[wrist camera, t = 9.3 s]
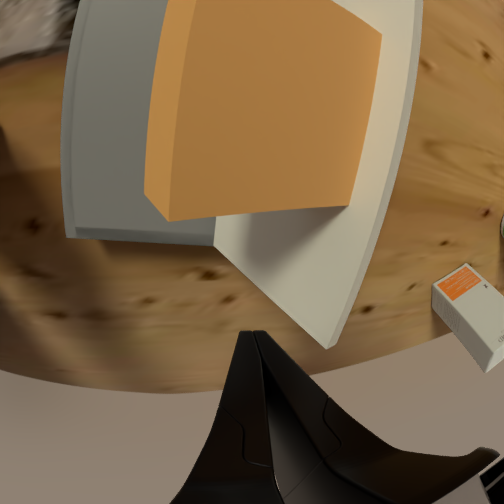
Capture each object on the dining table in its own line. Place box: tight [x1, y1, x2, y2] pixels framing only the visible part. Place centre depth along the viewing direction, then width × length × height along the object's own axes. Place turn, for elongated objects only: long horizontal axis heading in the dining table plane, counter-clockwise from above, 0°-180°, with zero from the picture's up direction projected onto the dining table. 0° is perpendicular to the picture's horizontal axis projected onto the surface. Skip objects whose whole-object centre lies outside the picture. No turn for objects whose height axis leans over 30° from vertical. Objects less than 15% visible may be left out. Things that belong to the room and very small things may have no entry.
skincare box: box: [432, 263, 504, 373], centre depth 24 cm, size 6×4×12 cm
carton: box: [61, 0, 216, 246], centre depth 16 cm, size 20×18×4 cm
